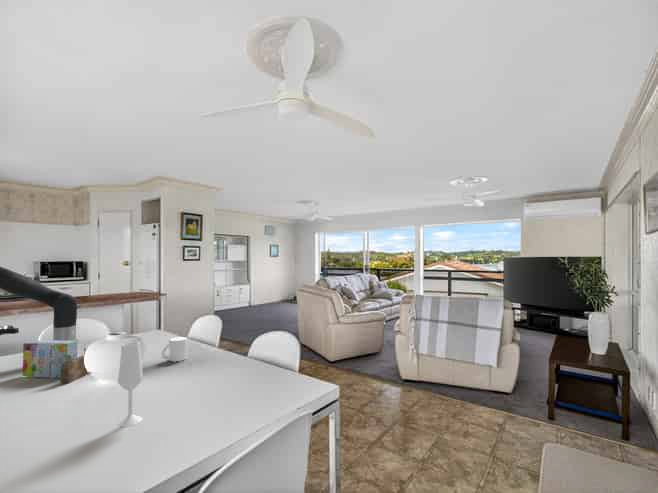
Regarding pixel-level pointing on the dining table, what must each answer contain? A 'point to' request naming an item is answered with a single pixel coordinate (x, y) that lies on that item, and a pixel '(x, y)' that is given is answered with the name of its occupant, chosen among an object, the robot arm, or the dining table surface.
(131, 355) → the champagne flute
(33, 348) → the snack box
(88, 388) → the dining table surface
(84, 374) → the block
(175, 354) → the mug
